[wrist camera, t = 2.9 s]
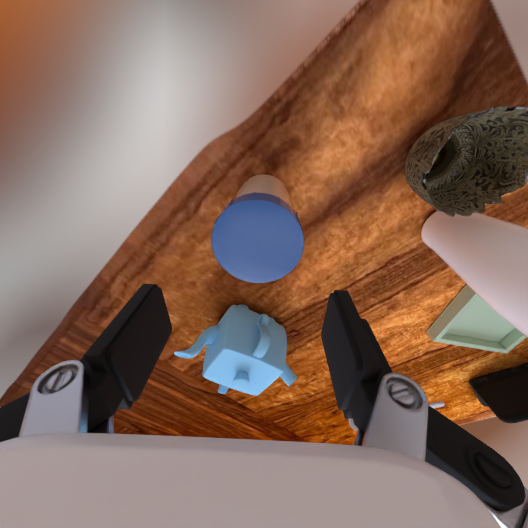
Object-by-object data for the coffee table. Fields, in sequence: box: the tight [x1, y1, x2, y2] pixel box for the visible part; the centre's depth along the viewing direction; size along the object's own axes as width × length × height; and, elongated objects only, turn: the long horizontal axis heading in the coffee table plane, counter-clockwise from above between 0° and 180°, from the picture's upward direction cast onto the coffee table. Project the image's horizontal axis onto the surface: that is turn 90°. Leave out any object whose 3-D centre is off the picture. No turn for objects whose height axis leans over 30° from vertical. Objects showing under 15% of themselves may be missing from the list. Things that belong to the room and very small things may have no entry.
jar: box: [234, 174, 292, 207], centre depth 21 cm, size 6×6×11 cm
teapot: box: [174, 305, 298, 396], centre depth 33 cm, size 18×14×10 cm
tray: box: [426, 284, 527, 354], centre depth 32 cm, size 13×13×2 cm
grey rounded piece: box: [405, 105, 528, 217], centre depth 19 cm, size 8×7×8 cm
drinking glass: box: [421, 211, 528, 337], centre depth 20 cm, size 7×7×15 cm
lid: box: [211, 192, 304, 283], centre depth 17 cm, size 7×7×2 cm
